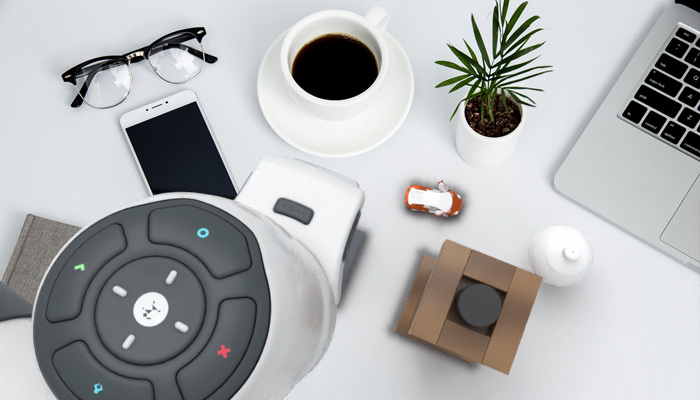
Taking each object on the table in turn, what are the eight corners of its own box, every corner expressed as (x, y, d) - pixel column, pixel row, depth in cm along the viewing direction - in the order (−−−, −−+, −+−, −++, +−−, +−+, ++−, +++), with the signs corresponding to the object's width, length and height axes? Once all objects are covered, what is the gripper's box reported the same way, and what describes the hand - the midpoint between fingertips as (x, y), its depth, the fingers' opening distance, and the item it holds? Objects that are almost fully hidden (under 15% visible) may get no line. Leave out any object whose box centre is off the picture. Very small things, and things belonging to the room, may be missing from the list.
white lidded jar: (520, 291, 83) (545, 287, 71) (512, 235, 84) (535, 222, 73) (577, 286, 83) (611, 281, 71) (568, 230, 84) (600, 216, 72)
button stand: (471, 363, 81) (511, 382, 58) (394, 330, 83) (403, 337, 59) (499, 285, 83) (549, 274, 60) (423, 255, 84) (443, 232, 61)
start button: (487, 332, 60) (493, 333, 57) (448, 316, 60) (452, 316, 57) (501, 294, 61) (507, 293, 58) (462, 279, 61) (467, 277, 58)
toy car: (458, 225, 85) (461, 221, 82) (401, 213, 86) (402, 209, 82) (464, 189, 86) (468, 184, 83) (408, 178, 86) (410, 172, 83)
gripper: (228, 527, 31) (272, 462, 45) (377, 165, 35) (376, 208, 48) (119, 476, 32) (195, 428, 46) (275, 126, 35) (302, 178, 49)
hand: (288, 313), depth 47 cm, fingers closed
